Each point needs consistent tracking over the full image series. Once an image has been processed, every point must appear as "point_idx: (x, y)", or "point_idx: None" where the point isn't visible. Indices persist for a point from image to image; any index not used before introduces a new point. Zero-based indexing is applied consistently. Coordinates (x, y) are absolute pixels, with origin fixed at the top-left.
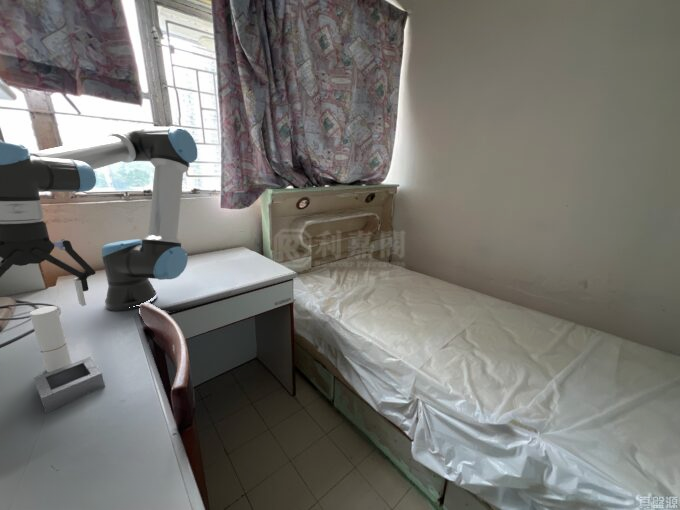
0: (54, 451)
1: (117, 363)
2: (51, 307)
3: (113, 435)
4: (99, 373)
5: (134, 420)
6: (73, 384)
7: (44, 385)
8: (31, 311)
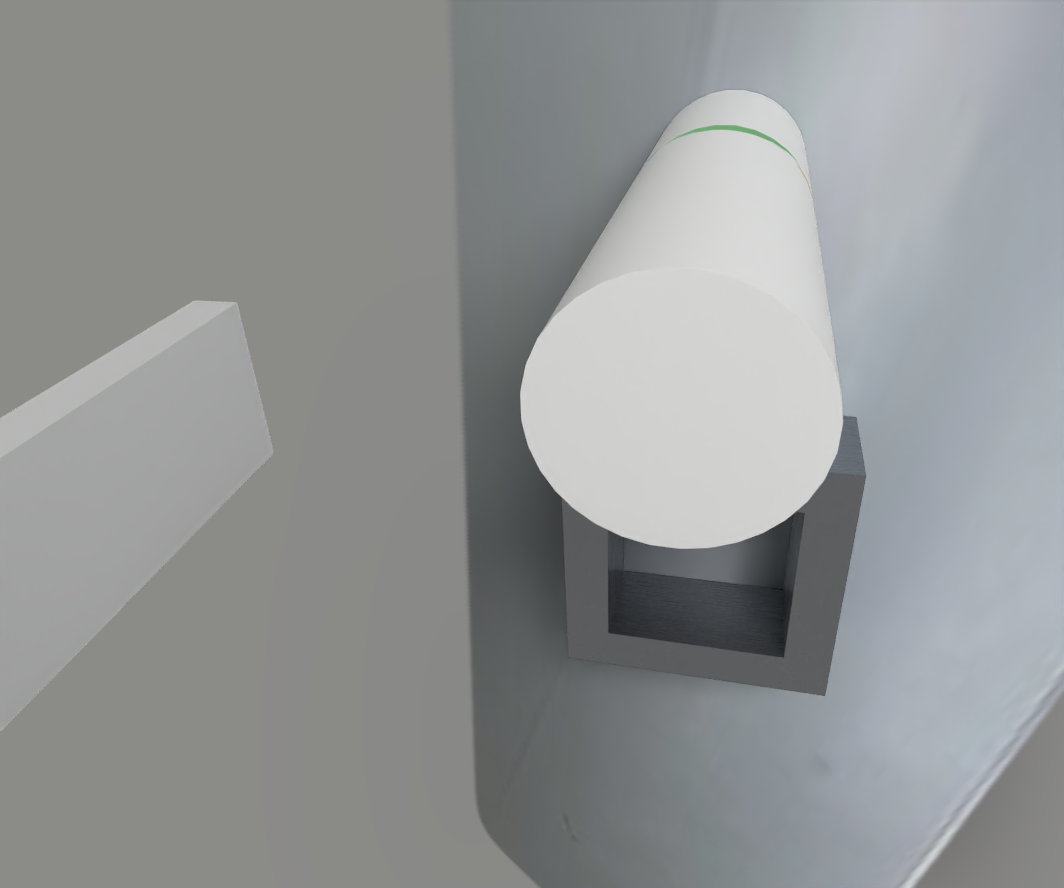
0: (577, 781)
1: (989, 473)
2: (784, 379)
3: (717, 861)
4: (814, 691)
5: (792, 867)
6: (691, 673)
7: (591, 570)
8: (545, 335)
